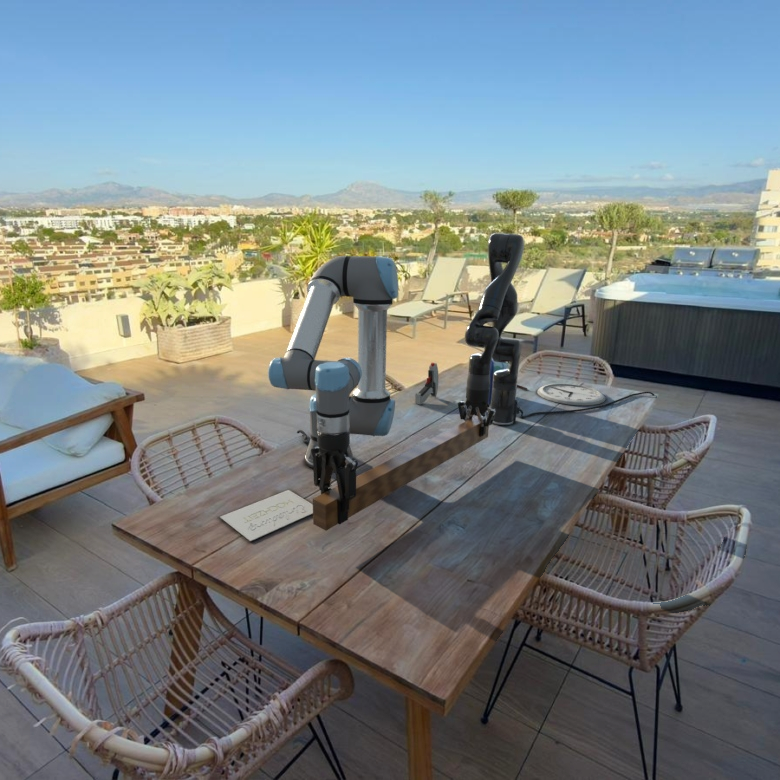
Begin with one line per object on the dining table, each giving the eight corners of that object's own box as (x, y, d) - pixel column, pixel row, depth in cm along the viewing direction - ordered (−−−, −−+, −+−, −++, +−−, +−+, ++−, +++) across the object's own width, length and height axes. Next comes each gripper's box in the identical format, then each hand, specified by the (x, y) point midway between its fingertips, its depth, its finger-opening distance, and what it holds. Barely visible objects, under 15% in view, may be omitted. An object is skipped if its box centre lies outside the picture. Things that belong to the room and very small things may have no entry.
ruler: (503, 382, 259) (503, 380, 259) (504, 382, 259) (504, 380, 259) (526, 390, 247) (526, 388, 247) (527, 390, 247) (527, 388, 247)
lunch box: (475, 390, 246) (478, 346, 240) (498, 390, 246) (501, 347, 240) (484, 408, 221) (487, 360, 215) (509, 409, 221) (513, 360, 215)
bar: (476, 433, 182) (478, 415, 180) (487, 437, 179) (489, 418, 177) (313, 524, 126) (312, 498, 124) (326, 530, 123) (325, 505, 121)
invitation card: (288, 489, 150) (320, 509, 140) (288, 490, 150) (320, 510, 140) (219, 516, 136) (250, 540, 125) (219, 517, 136) (250, 541, 126)
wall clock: (618, 401, 228) (551, 402, 225) (618, 405, 228) (551, 406, 226) (588, 382, 256) (528, 382, 254) (587, 385, 257) (528, 385, 254)
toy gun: (414, 370, 220) (434, 361, 231) (415, 405, 226) (434, 395, 237) (419, 371, 219) (438, 362, 230) (419, 406, 225) (438, 396, 236)
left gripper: (295, 424, 123) (299, 511, 131) (349, 445, 113) (350, 537, 120) (319, 416, 129) (321, 499, 136) (372, 434, 118) (372, 524, 126)
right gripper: (453, 384, 172) (451, 431, 178) (492, 393, 164) (488, 443, 169) (465, 379, 178) (462, 425, 183) (503, 387, 169) (499, 436, 175)
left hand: (335, 517), depth 128 cm, fingers closed on bar, 4 cm apart
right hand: (475, 433), depth 176 cm, fingers closed on bar, 4 cm apart
